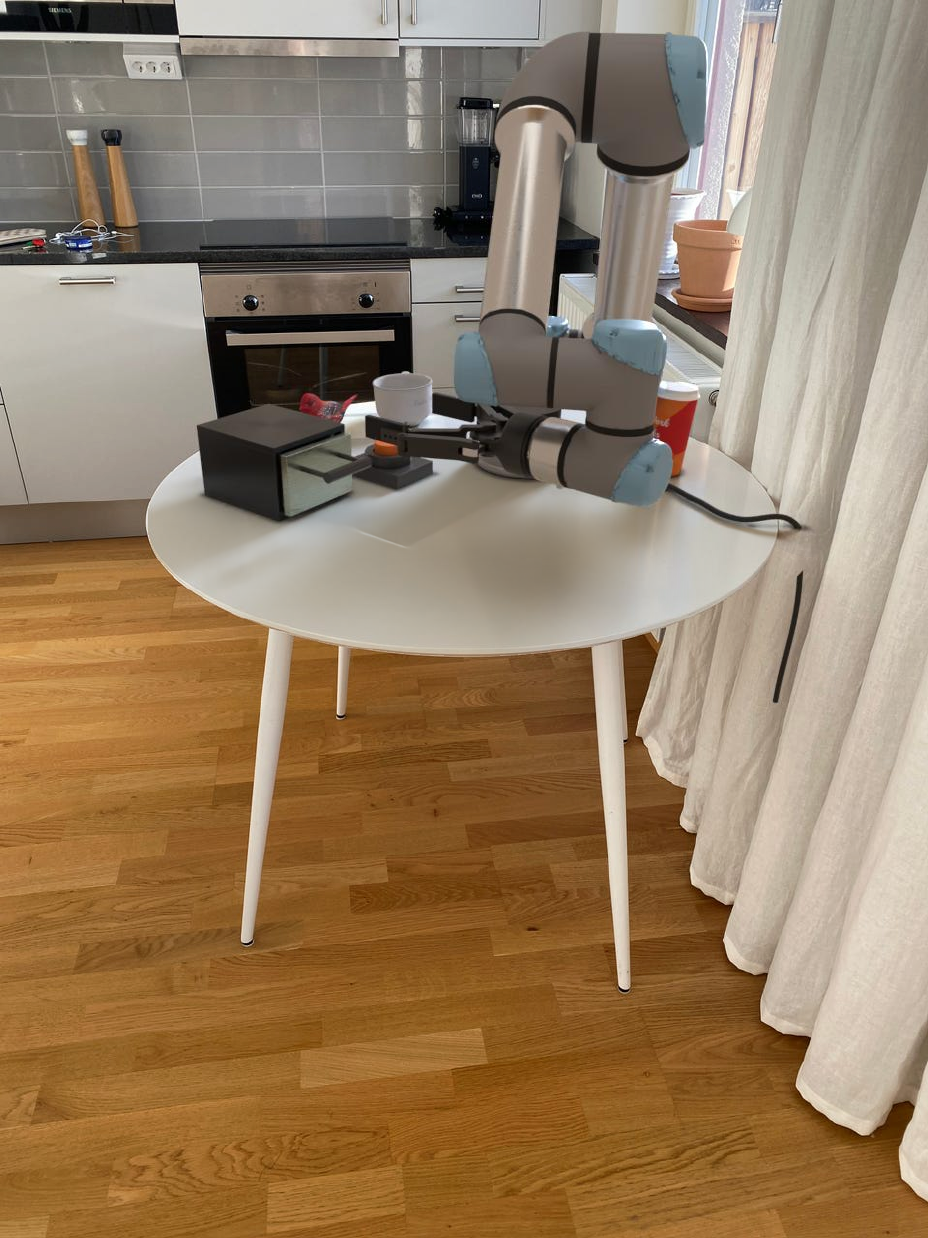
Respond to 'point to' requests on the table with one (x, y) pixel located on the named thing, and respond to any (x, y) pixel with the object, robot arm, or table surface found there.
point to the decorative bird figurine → (324, 407)
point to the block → (394, 469)
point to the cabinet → (255, 454)
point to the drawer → (318, 472)
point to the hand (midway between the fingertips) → (401, 413)
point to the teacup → (403, 397)
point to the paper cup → (675, 418)
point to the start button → (385, 448)
